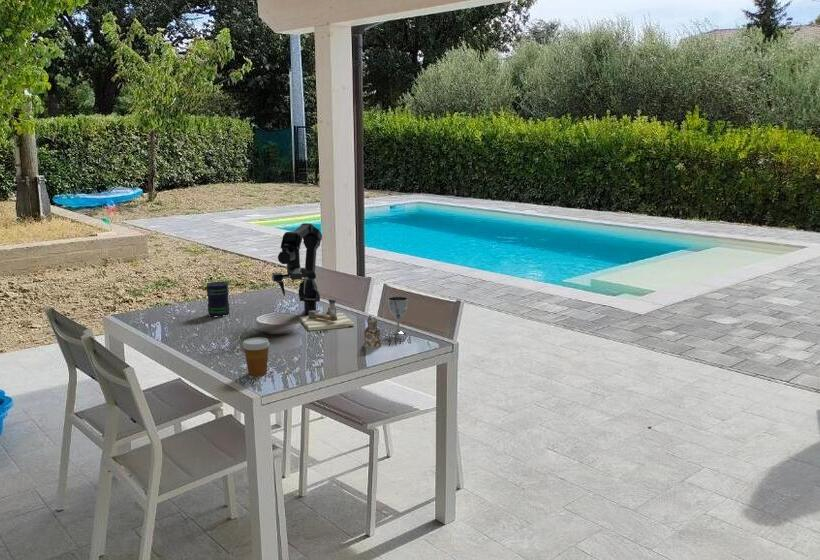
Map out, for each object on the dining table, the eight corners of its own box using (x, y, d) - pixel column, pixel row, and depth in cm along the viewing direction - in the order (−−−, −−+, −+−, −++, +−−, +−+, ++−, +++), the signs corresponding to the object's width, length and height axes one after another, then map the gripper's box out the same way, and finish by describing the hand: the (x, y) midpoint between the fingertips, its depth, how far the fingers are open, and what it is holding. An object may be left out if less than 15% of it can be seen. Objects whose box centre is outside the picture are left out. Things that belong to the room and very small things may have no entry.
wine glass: (408, 330, 325) (408, 296, 322) (406, 335, 317) (406, 300, 314) (390, 330, 325) (389, 296, 323) (387, 335, 318) (387, 300, 315)
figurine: (364, 348, 298) (363, 319, 296) (362, 344, 305) (361, 315, 303) (382, 347, 299) (381, 318, 297) (379, 342, 306) (379, 314, 304)
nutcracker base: (300, 320, 344) (299, 308, 343) (342, 316, 351) (342, 304, 350) (309, 330, 326) (308, 318, 325) (354, 326, 332) (353, 314, 331)
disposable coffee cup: (238, 376, 267) (236, 343, 264) (253, 368, 275) (251, 336, 273) (262, 378, 263) (260, 345, 261) (276, 370, 272) (274, 338, 270)
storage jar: (211, 318, 349) (209, 286, 346) (205, 314, 358) (203, 283, 355) (232, 315, 354) (230, 284, 351) (226, 311, 362) (224, 280, 360)
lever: (307, 317, 342) (306, 296, 340) (312, 315, 344) (312, 294, 342) (332, 322, 331) (331, 301, 329) (338, 321, 334) (337, 299, 332)
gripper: (274, 264, 323) (276, 300, 326) (317, 261, 329) (319, 296, 332) (270, 260, 333) (272, 295, 336) (312, 258, 339) (313, 292, 342)
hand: (294, 294), depth 336 cm, fingers open, 9 cm apart
